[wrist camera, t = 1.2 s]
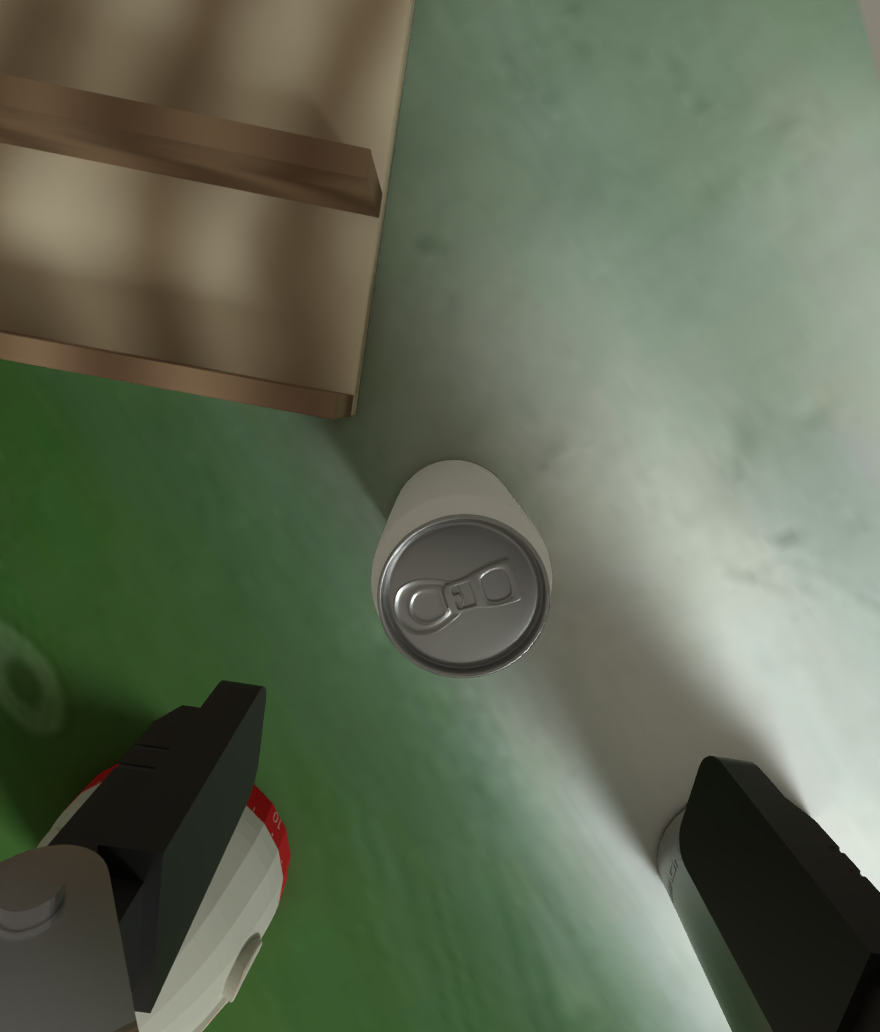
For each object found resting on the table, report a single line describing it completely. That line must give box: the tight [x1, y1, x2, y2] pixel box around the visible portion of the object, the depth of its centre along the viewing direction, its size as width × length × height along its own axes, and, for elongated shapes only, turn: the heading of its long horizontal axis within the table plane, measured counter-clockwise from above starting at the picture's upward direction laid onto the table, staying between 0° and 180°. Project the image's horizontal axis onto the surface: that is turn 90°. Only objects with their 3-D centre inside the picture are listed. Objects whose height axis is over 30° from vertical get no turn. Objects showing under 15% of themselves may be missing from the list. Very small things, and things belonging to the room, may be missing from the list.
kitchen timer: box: [37, 763, 290, 1032], centre depth 26 cm, size 14×14×15 cm
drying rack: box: [0, 0, 415, 419], centre depth 22 cm, size 18×19×6 cm
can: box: [371, 460, 552, 678], centre depth 23 cm, size 6×6×12 cm
